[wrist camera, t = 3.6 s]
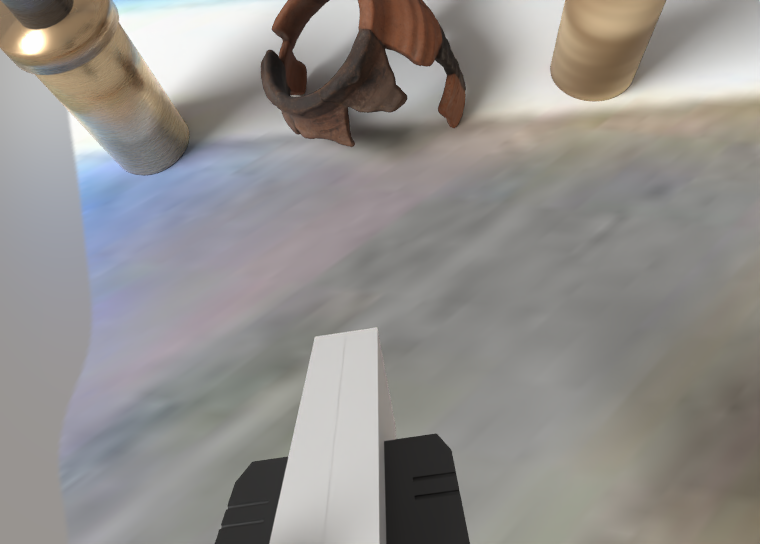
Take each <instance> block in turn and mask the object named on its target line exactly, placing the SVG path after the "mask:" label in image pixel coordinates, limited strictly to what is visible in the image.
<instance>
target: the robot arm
mask: <svg viewBox="0 0 760 544" xmlns="http://www.w3.org/2000/svg"><path fill="white" fill-rule="evenodd" d="M221 525H222V528H221V529H220V530H219V533H218V536H217V539H216V542H215V544H470V542H469V537H468V532H467V527H466V522H465V517H464V512H463V507H462V501H461V496H460V492H459V486H458V481H457V476H456V471H455V466H454V461H453V456H452V451H451V449H450V448H449V447H448V446H447V445H446V444H445V442H444V441H443V440H442V439H441V438H440V437H439V436H438V435H437V434H430V435H423V436H416V437H409V438H402V439H396V427H395V419H394V414H393V408H392V403H391V398H390V392H389V387H388V382H387V376H386V371H385V365H384V360H383V355H382V349H381V344H380V338H379V333H378V328H377V327H376V328H369V329H363V330H356V331H350V332H343V333H337V334H330V335H324V336H317V337H315V340H314V344H313V349H312V353H311V358H310V362H309V367H308V371H307V376H306V380H305V385H304V389H303V394H302V398H301V403H300V407H299V412H298V416H297V421H296V425H295V430H294V434H293V439H292V443H291V448H290V452H289V457H283V458H276V459H269V460H262V461H255V462H252V463H251V464H250V465H249V467H248V468H247V469H246V470H245V471H244V473H243V474H242V475H241V476H240V478H239V479H238V480H237V481H236V482H235V485H234V488H233V491H232V494H231V497H230V500H229V503H228V510H226V512H225V515H224V518H223V521H222V524H221Z"/></svg>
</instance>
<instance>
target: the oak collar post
mask: <svg viewBox="0 0 760 544" xmlns="http://www.w3.org/2000/svg"><path fill="white" fill-rule="evenodd" d="M665 2H666V0H565V4H564V8H563V13H562V17H561V22H560V26H559V30H558V35H557V39H556V44H555V48H554V53H553V57H552V61H551V66H550V71H551V76H552V79H553V81H554V82H555V84H556V85H557V86H558V87H559V88H560V89H561V90H562V91H563V92H565V93H566V94H568V95H570V96H572V97H574V98H577V99H581V100H586V101H602V100H607V99H611V98H614V97H616V96H618V95H620V94H621V93H623V92H624V91H625V90H626V89H627V88H628V87H629V86H630V84H631V82H632V80H633V78H634V76H635V73H636V71H637V69H638V66H639V64H640V62H641V59H642V57H643V54H644V52H645V50H646V47H647V45H648V43H649V40H650V38H651V35H652V33H653V31H654V28H655V26H656V24H657V21H658V19H659V16H660V14H661V12H662V9H663V7H664V5H665Z"/></svg>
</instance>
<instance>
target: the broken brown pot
mask: <svg viewBox="0 0 760 544" xmlns="http://www.w3.org/2000/svg"><path fill="white" fill-rule="evenodd" d="M328 1H329V0H288V1H287V3H286V4H285V5H284V7H283V8H282V10H281V11H280V13H279V14H278V16H277V17H276V19H275V21H274V24H273V26H272V31H273V32H274V33H275V34H276V35H277V36H279V37H281V38H282V40H283V43H282V47H281V49H280V53H279V57H278V55H277V54H276V53H275V52H274V51H273V50H268V51H267V52H266V54H265V56H264V58H263V60H262V63H261V78H262V83H263V88H264V91H265V94H266V96H267V98H268V99H269V100H270V101H271V102H272V104H274V105H275V106H277V108H279V109H280V110H281V111H282V114H283V117H284V119H285V121H286V122H287V124H288V125H289V126H290V128H291V129H292V130H293V131H294V132H295V133H296V134H301V135H302V136H303V137H304V138H309V139H315V138H324V139H328V140H332V141H336V142H337V143H339V144H342V145H346V146H350V147H353V146H354V145H355V143H354V140H353V139H352V137H351V133H350V124H349V115H348V107H351V108H353V109H355V110H356V111H358V112H367V113H369V112H377V111H385V112H393V111H396V110H397V109H398V108H400V107H401V106H402V105H403V104H404V103H405V102H406V100H407V95H406V94H405V93H404V92H403V91H402V90H401V88H400V87H399V86H397V85H396V81H395V76H394V73H393V71H392V69H391V67H390V65H389V62H388V58H387V55H386V52H385V49H389V50H393V51H396V52H398V53H400V54H402V55H404V56H405V57H406V58H408V59H409V60H410V61H411V62H413V63H414V64H416V65H419V66H421V65H422V66H431V65H432V64H433V62H434V60H436V61H437V62H438V63H440V65H442V66H443V67H444V70H445V72H446V74H447V79H446V84H445V88H444V93H443V95H442V98H441V101H440V104H439V107H438V111H439V113H440V114H441V115H442V116H444V117H445V118H446V119H447V122H448V124H449V125H450V127H452V128H455V127H456V126H457V125H458V124H459V121H460V119H461V117H462V114H463V110H464V106H465V96H466V94H465V90H466V86H465V81H464V77H463V75H462V72H461V70H460V68H459V64H458V62H457V60H456V59H455V57H454V55H453V53H452V51H451V48H450V45H449V42H448V40H447V39H446V37H445V34H444V32H443V30H442V28H441V26H440V24H439V23H438V20H437V19H436V18H435V16H434V14H433V13H432V11H431V10H430V9H429V7H428V6H427V5H426V4H425V3H424V2H423V1H422V0H358V3H359V8H360V20H359V33H358V35H357V37H356V40H355V42H354V45H353V47H352V50H351V52H350V54H349V56H348V57H347V59H346V61H345V62H344V64H343V65H342V67H341V68H340V69H339V70H338V72H337V73H336V74H335V75H334V77H333V78H332V79H331V80H330V81H329V82H328V83H327V84H325V85H324V86H323V87H322V88H320V89H319V90H317V91H315V92H313V93H311V94H308V95H305V96H301V97H291V96H290V95H303V94H304V93H305V90H306V84H307V70H306V66H305V65H304V64H303V63H302V62H300V61H298V60H296V58H295V56H294V54H293V52H292V50H293V48H294V46H295V43H296V41H297V39H298V37H299V35H300V34H301V32H302V30H303V29H304V27H305V25H306V23H307V22H308V21H309V20H310V18H311V17H312V16H313V15H314V14H315V13H316V12H317V11H318V10H319V9H320V8H321V7H322V6H323V5H324V4H325V3H327V2H328Z"/></svg>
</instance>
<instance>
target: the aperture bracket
mask: <svg viewBox="0 0 760 544" xmlns="http://www.w3.org/2000/svg"><path fill="white" fill-rule="evenodd" d="M118 21H119V15H118V10H117V8H116V6H115V4H114V2H113V1H112V0H0V48H1V49H2V50H3V51H4V53H5V54H6V55H7V56H8V57H9V58H10V59H11V60H12V61H13V62H14V63H15V64H16V65H17V66H18V67H19V68H21V69H22V70H24V71H26V72H29V73H32V74H35V75H36V76H37V77H38V78H39V79H40V81H41V82H42V83H43V84H44V85H45V86H46V87H47V88H48V89H49V90H50V91H51V92H52V93H53V95H55V97H56V98H57V99H58V100H59V101H60V102H61V103H62V104H63V105H64V106H65V107H66V108H67V110H68V111H69V112H70V113H71V114H72V115H73V116H74V117H75V118H76V119H77V120H78V121H79V122H80V124H81V125H82V126H83V127H84V128H85V129H86V130H87V131H88V132H89V133H90V134H91V135H92V136H93V137H94V139H95V140H96V141H97V142H98V143H99V144H100V145H101V146H102V147H103V148H104V149H105V150H106V151H107V152H108V154H109V155H110V156H111V157H112V158H113V159H114V160H115V161H116V162H117V163H118V164H119V165H120V166H121V167H122V168H123V169H124V170H125V171H127V172H129V173H132V174H136V175H150V174H155V173H158V172H161V171H163V170H165V169H167V168H168V167H170V166H171V165H173V164H174V163H175V162H176V161H177V160H178V159H179V158H180V157H181V156H182V155H183V153H184V151H185V150H186V148H187V145H188V142H189V130H188V127H187V125H186V123H185V121H184V120H183V118H182V117H181V115H180V114H179V112H178V111H177V109H176V108H175V106H174V105H173V103H172V102H171V100H170V99H169V97H168V96H167V94H166V93H165V91H164V90H163V88H162V87H161V85H160V84H159V82H158V81H157V79H156V78H155V76H154V75H153V73H152V72H151V70H150V69H149V67H148V66H147V64H146V63H145V61H144V60H143V58H142V57H141V55H140V54H139V52H138V51H137V49H136V48H135V46H134V45H133V43H132V42H131V40H130V39H129V37H128V36H127V34H126V33H125V31H124V30H123V28H122V27H121V25H120V24H119V22H118Z"/></svg>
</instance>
